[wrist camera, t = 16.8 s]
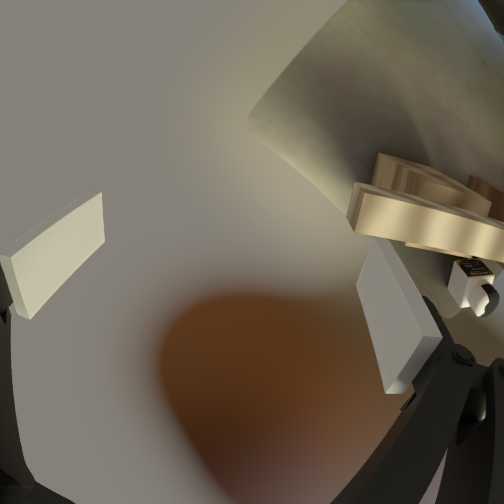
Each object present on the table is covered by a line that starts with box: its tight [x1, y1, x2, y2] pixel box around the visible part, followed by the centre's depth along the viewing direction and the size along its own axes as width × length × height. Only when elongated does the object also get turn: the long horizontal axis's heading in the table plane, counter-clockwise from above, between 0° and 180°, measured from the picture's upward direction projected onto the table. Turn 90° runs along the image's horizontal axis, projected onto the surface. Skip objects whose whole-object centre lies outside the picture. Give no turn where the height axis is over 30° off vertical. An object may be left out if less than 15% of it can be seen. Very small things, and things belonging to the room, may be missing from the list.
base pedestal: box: [370, 152, 492, 259], centre depth 39 cm, size 11×8×18 cm
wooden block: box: [346, 182, 504, 263], centre depth 29 cm, size 26×4×4 cm, turn 83°
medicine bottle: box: [447, 258, 499, 317], centre depth 48 cm, size 7×7×12 cm
